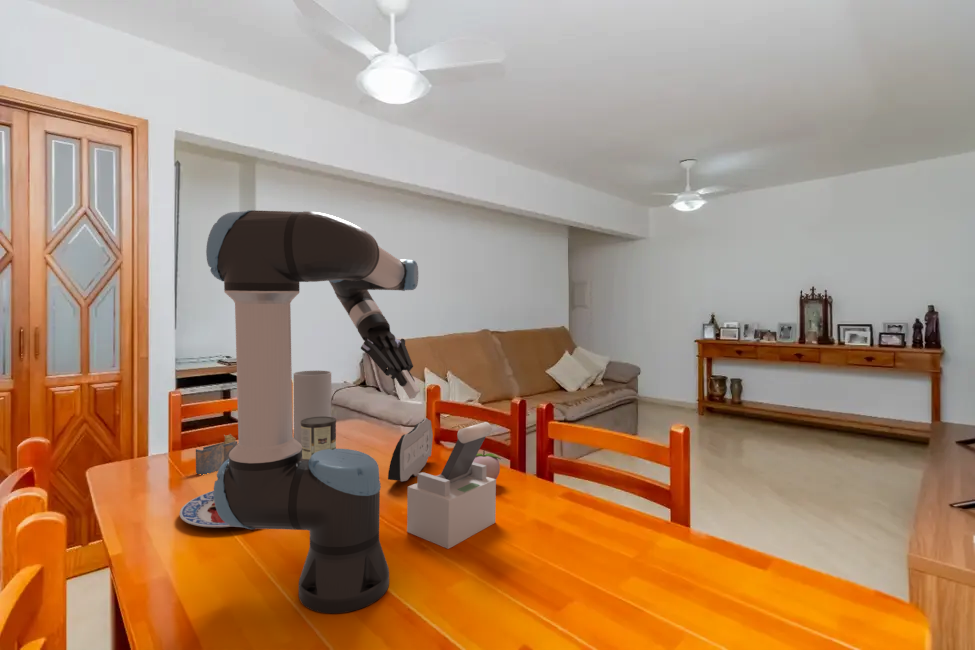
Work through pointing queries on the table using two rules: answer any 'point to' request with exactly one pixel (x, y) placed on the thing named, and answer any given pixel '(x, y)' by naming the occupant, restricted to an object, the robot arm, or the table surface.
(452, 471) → the lever
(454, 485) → the box
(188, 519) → the ceramic plate
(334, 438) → the coffee can
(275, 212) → the robot arm
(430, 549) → the table surface
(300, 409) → the cylinder vase
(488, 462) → the decorative fruit
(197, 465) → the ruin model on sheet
